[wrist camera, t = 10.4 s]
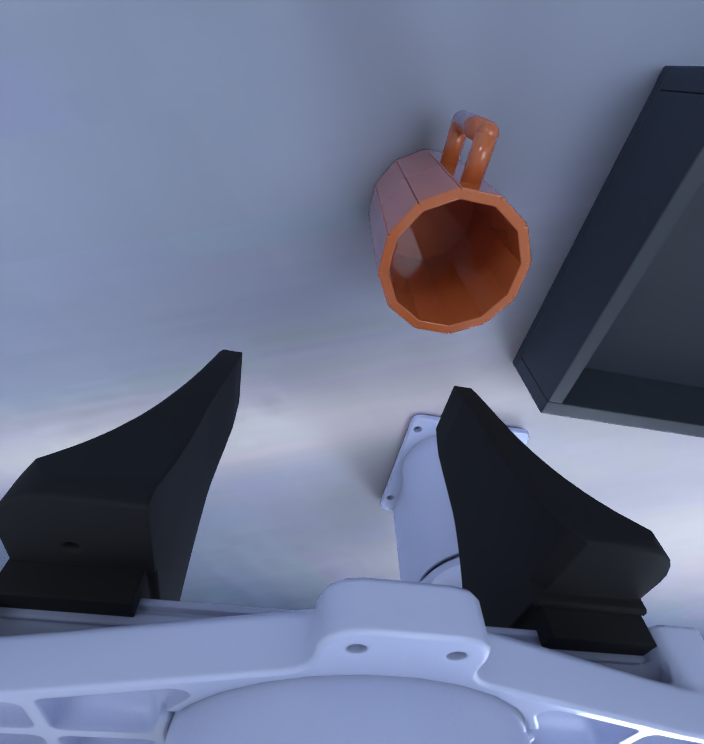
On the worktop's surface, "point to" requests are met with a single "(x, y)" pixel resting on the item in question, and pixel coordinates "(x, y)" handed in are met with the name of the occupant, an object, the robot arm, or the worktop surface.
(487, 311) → the cup
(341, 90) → the worktop surface
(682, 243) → the bin
